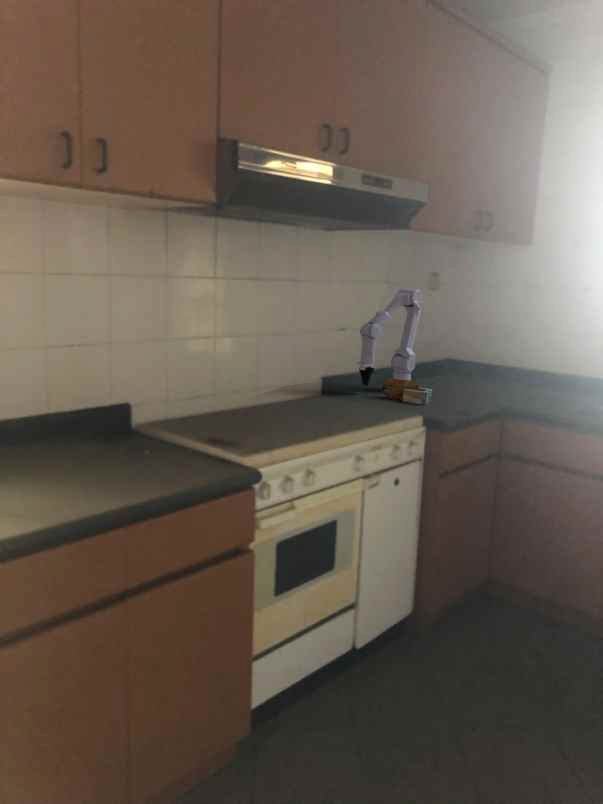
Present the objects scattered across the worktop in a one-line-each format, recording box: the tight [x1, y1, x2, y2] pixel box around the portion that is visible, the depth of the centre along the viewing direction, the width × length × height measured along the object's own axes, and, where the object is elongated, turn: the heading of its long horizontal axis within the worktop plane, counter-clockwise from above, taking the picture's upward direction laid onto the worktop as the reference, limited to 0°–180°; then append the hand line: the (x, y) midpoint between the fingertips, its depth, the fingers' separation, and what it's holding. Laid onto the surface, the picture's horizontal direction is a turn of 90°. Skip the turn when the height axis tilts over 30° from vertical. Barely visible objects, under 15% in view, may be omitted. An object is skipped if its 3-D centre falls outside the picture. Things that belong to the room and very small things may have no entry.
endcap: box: [402, 387, 433, 406], centre depth 270 cm, size 10×10×5 cm
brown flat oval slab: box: [381, 378, 419, 401], centre depth 272 cm, size 15×3×8 cm, turn 73°
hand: (365, 385), depth 277 cm, fingers closed
